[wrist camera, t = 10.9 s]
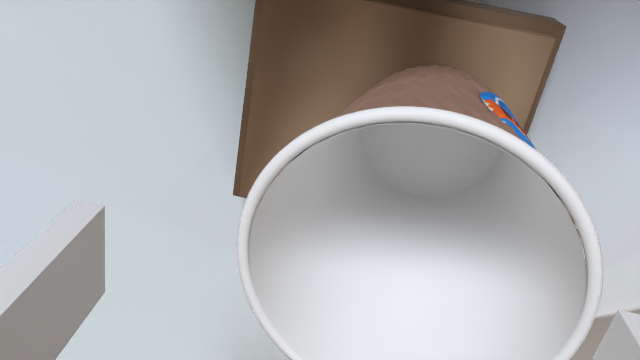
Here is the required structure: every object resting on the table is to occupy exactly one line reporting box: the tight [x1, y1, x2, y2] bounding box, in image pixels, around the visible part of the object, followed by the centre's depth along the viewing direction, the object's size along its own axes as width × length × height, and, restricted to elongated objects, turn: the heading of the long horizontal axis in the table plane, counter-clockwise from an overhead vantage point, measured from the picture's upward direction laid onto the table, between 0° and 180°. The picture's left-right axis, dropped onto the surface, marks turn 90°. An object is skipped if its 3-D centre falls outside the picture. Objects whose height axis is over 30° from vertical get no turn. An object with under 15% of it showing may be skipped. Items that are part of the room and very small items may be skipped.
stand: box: [233, 0, 566, 200], centre depth 28 cm, size 14×12×3 cm
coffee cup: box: [237, 65, 603, 360], centre depth 21 cm, size 10×10×12 cm
